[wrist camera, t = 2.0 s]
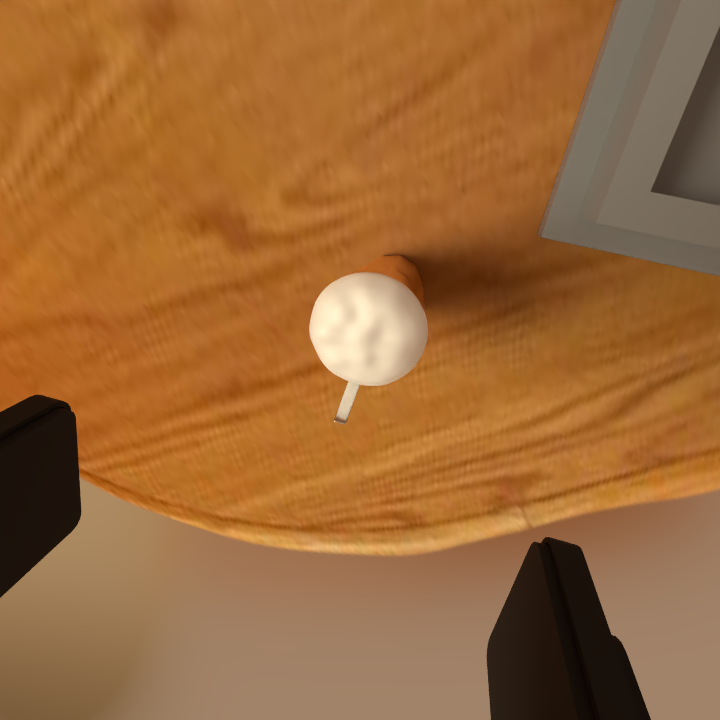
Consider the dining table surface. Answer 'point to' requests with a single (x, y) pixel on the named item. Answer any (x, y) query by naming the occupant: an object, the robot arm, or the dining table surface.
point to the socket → (647, 140)
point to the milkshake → (370, 326)
